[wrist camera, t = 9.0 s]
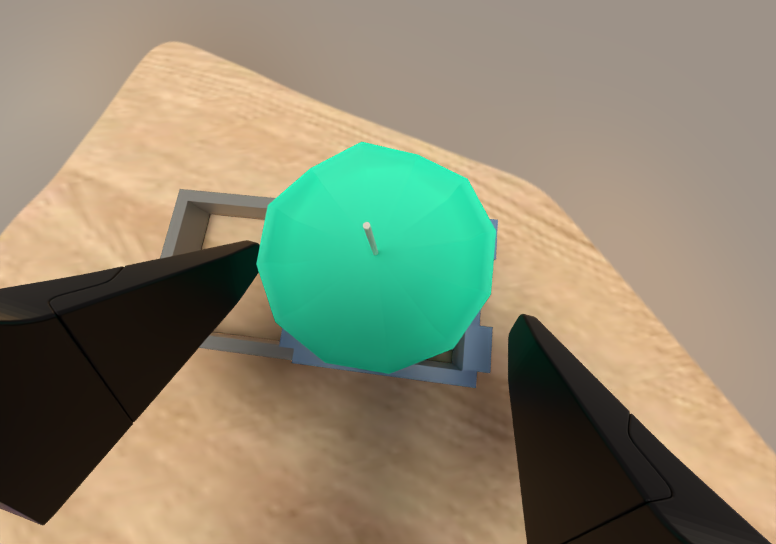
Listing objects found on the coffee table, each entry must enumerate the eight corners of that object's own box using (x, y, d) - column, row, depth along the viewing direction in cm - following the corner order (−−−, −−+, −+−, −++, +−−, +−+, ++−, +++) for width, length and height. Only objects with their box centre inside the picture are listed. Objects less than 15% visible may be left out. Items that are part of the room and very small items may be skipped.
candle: (458, 303, 17) (596, 252, 5) (379, 365, 16) (327, 469, 5) (398, 229, 18) (395, 43, 6) (322, 285, 17) (160, 201, 6)
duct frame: (476, 230, 18) (498, 202, 14) (467, 377, 16) (489, 394, 12) (202, 203, 19) (150, 170, 15) (167, 337, 17) (98, 341, 13)
